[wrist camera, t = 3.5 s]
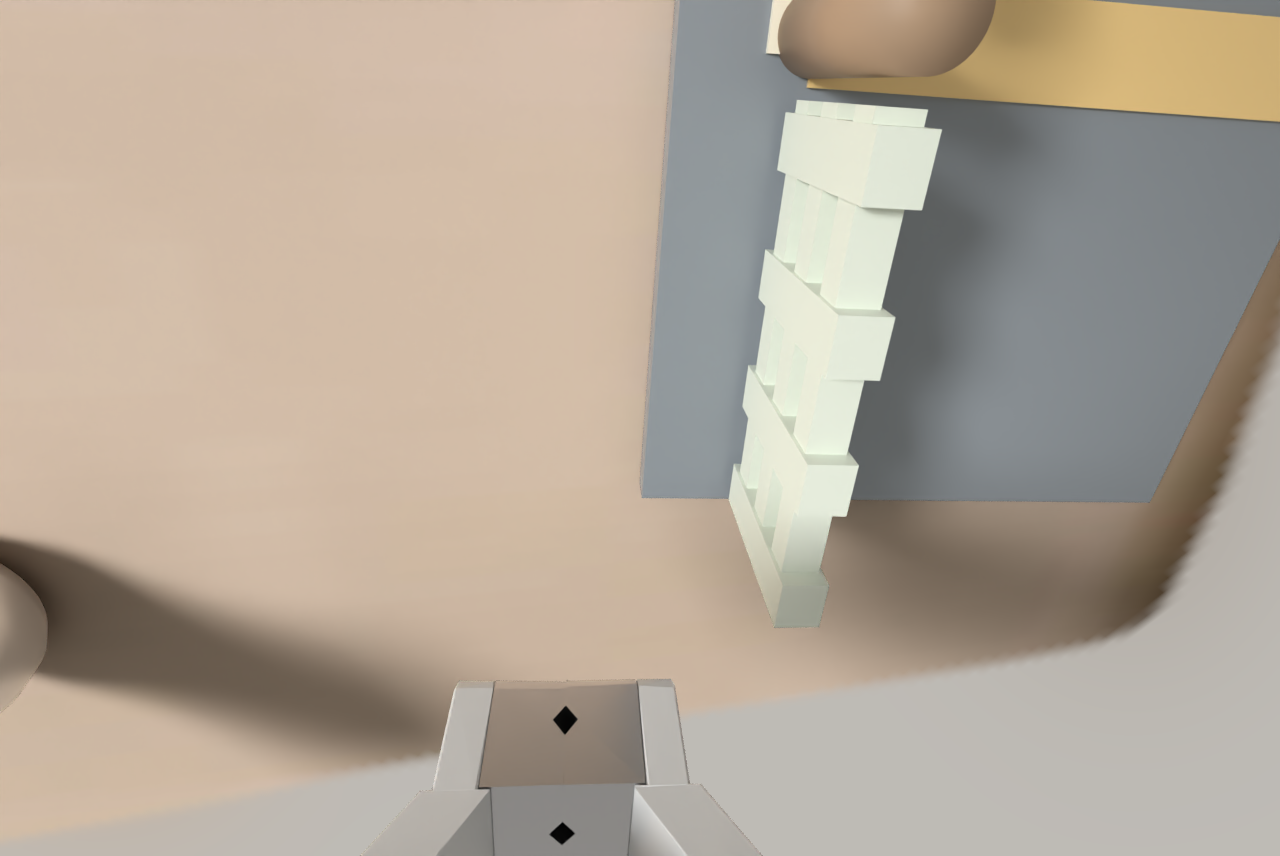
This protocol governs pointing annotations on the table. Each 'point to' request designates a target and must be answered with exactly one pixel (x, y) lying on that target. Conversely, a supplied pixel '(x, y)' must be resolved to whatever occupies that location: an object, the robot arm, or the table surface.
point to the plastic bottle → (19, 635)
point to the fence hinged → (821, 334)
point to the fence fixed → (880, 36)
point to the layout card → (985, 246)
